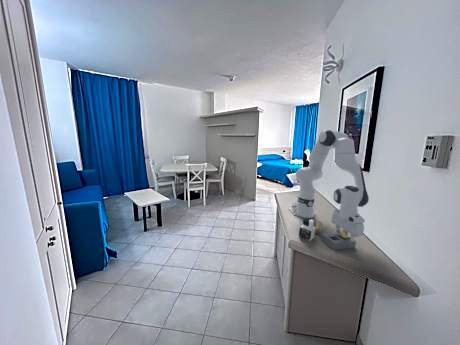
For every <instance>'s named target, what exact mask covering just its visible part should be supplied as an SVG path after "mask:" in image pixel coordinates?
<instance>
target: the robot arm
mask: <svg viewBox="0 0 460 345" xmlns="http://www.w3.org/2000/svg"><path fill="white" fill-rule="evenodd" d="M333 148H334V162H335V165H336V166H337V167H338V168H339V169H340V170H343V171H344V172H347V173H349V174H350V175H352V176H353V178H354V179H353V180H354V184H355V186H354V185H346V186H344V187H343V188H337V189H335V191H334V192H333V201H334V202H335V203H336V204H339V205H340V207H339V209H338V208H336V209H333V213H332V215H331V220H330V221H331V223H332V224H334V225H335V228H336V234H338V233H342V230H345V231H347V232H348V234H350V236H348V237H349V240H350V241H353V240H354V238H359V237H360V238H361V237H362V236H363V235H364V230H365V225H364V223H365V221H366V219H364V218H363V216H361V215H360V213H359V212H358V211H359V209H358V208H359V207H360V208H362V207H364V206H366V205H367V204H368V203H369V199H370V198H369V194H368V191H367V188H366V183H365V177H364V173H363V169H362V166H361V164H360V163H358V161H357V159H356V149H355V143H354V140H353V138H352V136H351V135H349V134H348V133H344V132H342V131H338V130H337V131H336V130H331V129H326V130H325V129H324V130H323V131H321V132H320V134H319V135H318V139H317V140H316V142H315V144H314V145H313V147H312V149H311V152H310V154H309V157H308V161H309V163H308V166H304V167H300V168H299V169H297V170H296V171H295V178H296V179H297V181H298V183H299V194H298V195H299V196H297V200H296V201H294V202H292V203H291V207H288V210H289V211H290V212H291V214H292V215H294V216H296V217H301V218H304V219H305V218H310V219H312V218H314V217H315V215H316V212H315V192H316V188H315V187H314V184H313V182H314V181H317V180H319V179H321V178H322V177H323V166H324V162H325V161H326V159H327V157H328V154H329V152H330V151H331V149H333ZM341 229H342V230H341Z"/></svg>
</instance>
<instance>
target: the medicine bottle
mask: <svg viewBox="0 0 460 345" xmlns="http://www.w3.org/2000/svg"><path fill="white" fill-rule="evenodd" d="M314 222H315V221H314V219H312V218H305V217H304V218H303V221H302V225H301V226H299V231H298V232H299V233H298V238H300V239H303V240H305V241H307V242H311V241H312V240H313V239H314V238H315V235H316V234H315V229H316V226H314V225H315V224H314Z"/></svg>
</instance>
